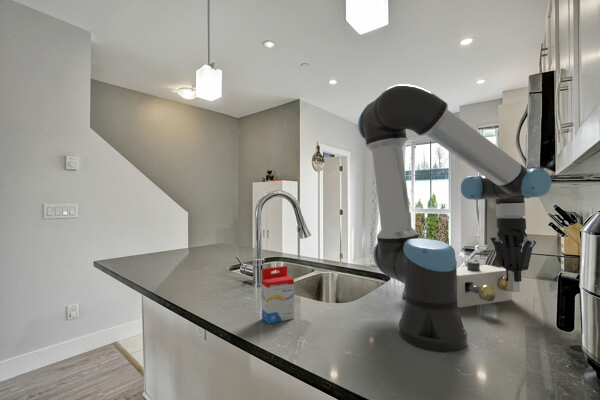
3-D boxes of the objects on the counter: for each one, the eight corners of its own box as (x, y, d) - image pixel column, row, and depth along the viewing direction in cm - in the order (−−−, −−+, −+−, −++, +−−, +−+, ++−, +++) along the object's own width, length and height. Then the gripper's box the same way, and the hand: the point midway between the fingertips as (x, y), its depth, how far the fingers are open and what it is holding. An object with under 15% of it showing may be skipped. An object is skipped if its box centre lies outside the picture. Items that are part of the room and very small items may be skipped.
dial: (474, 271, 92) (473, 263, 92) (464, 269, 96) (464, 261, 96) (482, 270, 93) (482, 262, 93) (473, 268, 97) (472, 260, 97)
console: (460, 307, 87) (458, 275, 87) (438, 298, 95) (437, 269, 96) (512, 300, 93) (511, 270, 93) (487, 292, 101) (486, 264, 102)
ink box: (267, 324, 77) (266, 272, 77) (261, 318, 81) (260, 268, 82) (295, 318, 81) (294, 268, 81) (287, 313, 85) (287, 265, 86)
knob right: (503, 292, 89) (503, 278, 89) (478, 284, 98) (478, 272, 98) (513, 290, 90) (513, 277, 91) (488, 283, 99) (487, 271, 99)
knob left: (484, 302, 80) (483, 287, 81) (459, 293, 89) (458, 279, 89) (496, 300, 82) (495, 285, 82) (469, 291, 90) (469, 278, 90)
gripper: (541, 217, 84) (545, 295, 83) (500, 216, 96) (503, 284, 95) (522, 218, 82) (527, 298, 81) (483, 217, 94) (486, 287, 93)
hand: (514, 291), depth 88 cm, fingers closed
